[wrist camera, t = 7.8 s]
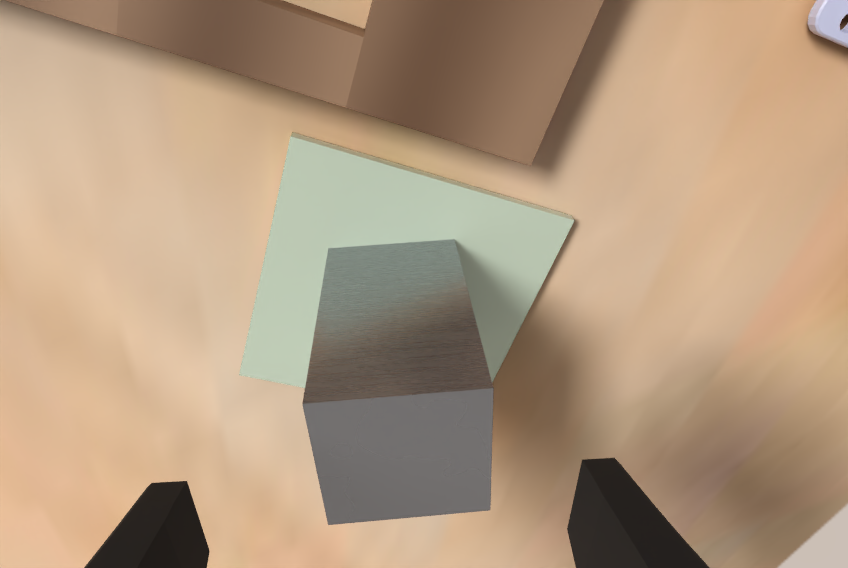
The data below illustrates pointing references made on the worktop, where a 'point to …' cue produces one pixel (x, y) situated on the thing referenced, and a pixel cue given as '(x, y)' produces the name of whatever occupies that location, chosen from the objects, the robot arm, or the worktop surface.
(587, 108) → the worktop surface
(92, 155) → the worktop surface
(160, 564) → the robot arm
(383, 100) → the walnut rail
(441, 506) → the steel block
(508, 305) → the green pad
